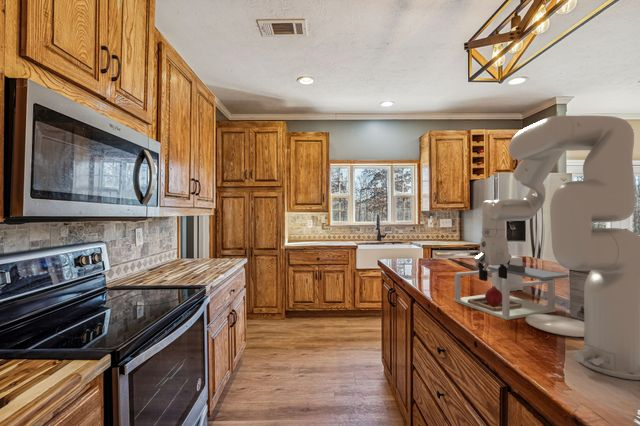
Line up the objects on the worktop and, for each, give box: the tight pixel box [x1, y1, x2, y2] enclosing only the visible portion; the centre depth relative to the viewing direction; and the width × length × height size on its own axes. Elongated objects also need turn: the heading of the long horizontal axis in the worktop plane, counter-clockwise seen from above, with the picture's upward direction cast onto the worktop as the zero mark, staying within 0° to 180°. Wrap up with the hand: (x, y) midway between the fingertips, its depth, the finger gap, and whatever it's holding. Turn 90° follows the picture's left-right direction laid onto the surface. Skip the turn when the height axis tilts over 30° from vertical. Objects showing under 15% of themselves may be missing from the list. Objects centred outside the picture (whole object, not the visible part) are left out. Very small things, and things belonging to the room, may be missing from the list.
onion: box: [484, 285, 502, 307], centre depth 115 cm, size 6×6×8 cm
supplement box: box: [491, 255, 524, 292], centre depth 142 cm, size 9×9×15 cm
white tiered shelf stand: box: [453, 269, 557, 321], centre depth 116 cm, size 24×23×11 cm
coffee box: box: [568, 269, 591, 321], centre depth 103 cm, size 9×6×16 cm
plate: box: [525, 313, 584, 338], centre depth 95 cm, size 17×17×1 cm
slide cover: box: [487, 264, 569, 280], centre depth 120 cm, size 13×22×4 cm, turn 20°
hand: (493, 279), depth 115 cm, fingers open, 9 cm apart
